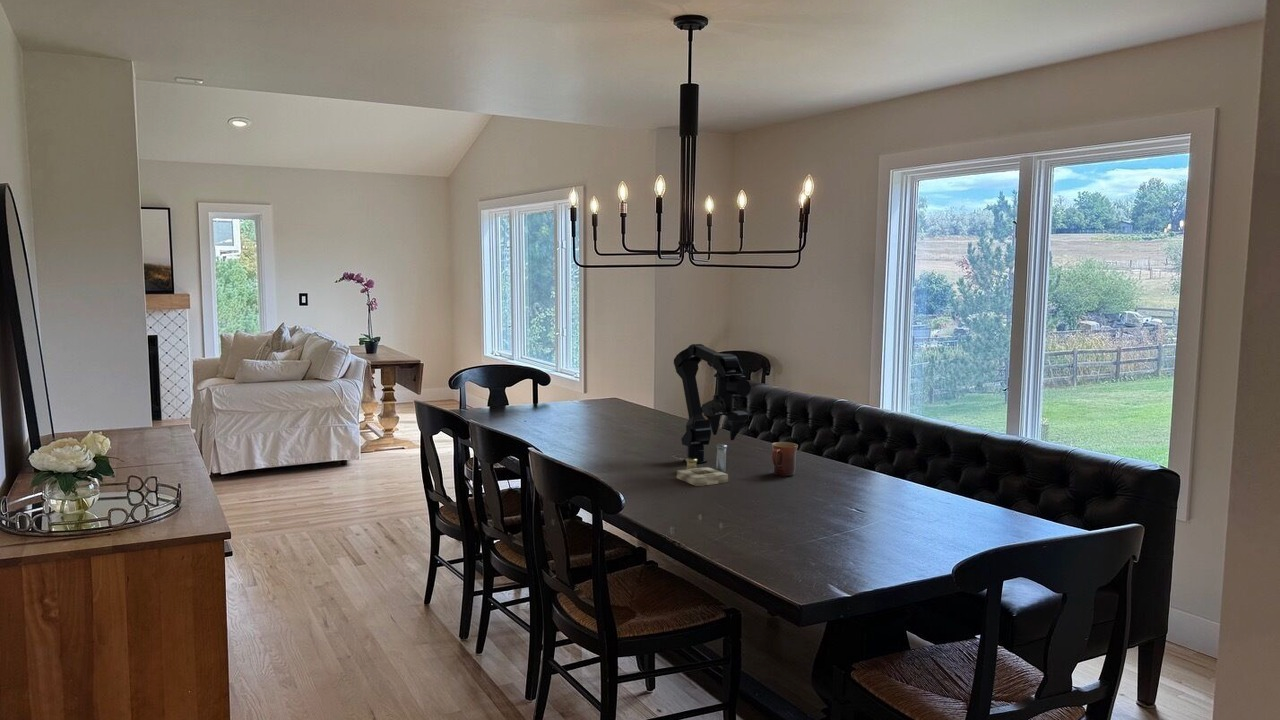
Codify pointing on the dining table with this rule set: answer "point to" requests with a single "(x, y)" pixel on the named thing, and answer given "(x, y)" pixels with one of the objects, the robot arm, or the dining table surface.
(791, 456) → the mug
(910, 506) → the dining table surface
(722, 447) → the long pin
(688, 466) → the short pin
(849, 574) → the dining table surface
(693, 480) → the socket board
